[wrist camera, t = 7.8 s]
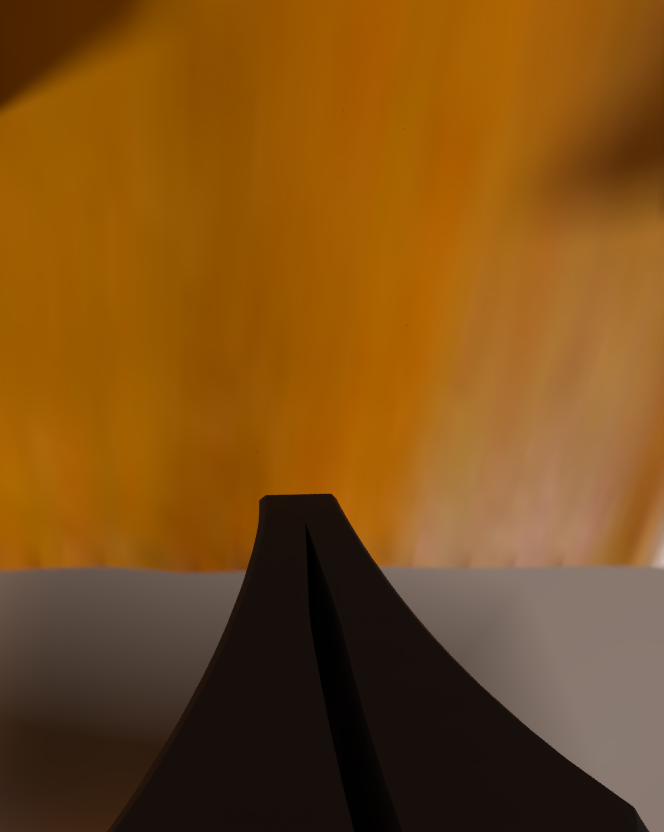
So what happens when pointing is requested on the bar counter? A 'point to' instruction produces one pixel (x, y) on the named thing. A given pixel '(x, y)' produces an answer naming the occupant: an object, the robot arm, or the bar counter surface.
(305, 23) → the bar counter surface
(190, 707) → the robot arm
